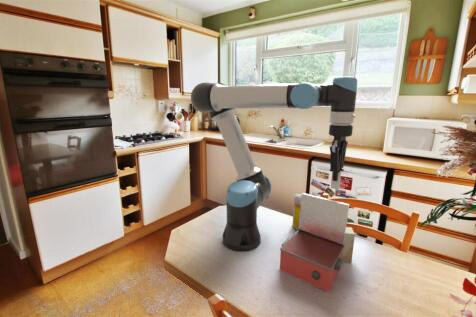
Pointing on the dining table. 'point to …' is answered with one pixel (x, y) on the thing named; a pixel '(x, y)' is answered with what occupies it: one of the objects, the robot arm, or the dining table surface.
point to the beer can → (297, 209)
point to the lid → (323, 218)
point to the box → (348, 245)
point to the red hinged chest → (311, 259)
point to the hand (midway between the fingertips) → (335, 188)
